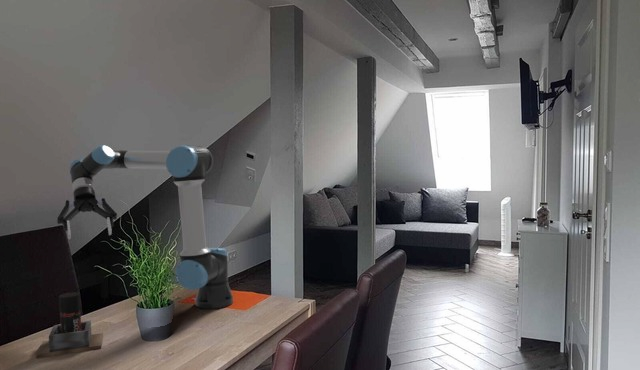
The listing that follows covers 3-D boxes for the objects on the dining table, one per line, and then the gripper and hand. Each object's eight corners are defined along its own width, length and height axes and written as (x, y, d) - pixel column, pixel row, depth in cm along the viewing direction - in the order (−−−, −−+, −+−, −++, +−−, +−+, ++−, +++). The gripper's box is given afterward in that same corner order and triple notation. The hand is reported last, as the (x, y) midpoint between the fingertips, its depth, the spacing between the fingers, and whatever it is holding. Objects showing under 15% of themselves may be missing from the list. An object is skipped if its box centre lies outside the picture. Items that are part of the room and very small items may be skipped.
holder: (103, 335, 165) (102, 318, 165) (101, 348, 154) (100, 329, 154) (43, 344, 159) (41, 326, 158) (36, 358, 147) (35, 338, 147)
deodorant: (73, 344, 153) (70, 297, 152) (56, 343, 154) (54, 297, 153) (85, 337, 159) (83, 292, 158) (70, 336, 160) (67, 292, 159)
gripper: (117, 196, 198) (125, 237, 186) (47, 200, 185) (51, 244, 174) (118, 184, 194) (127, 225, 182) (47, 187, 181) (51, 231, 169)
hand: (90, 234), depth 178 cm, fingers open, 13 cm apart
